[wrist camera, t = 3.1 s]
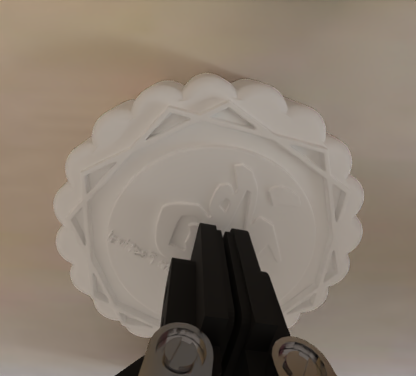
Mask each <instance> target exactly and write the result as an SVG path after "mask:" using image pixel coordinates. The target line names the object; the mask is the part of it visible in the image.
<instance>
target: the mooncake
mask: <svg viewBox="0 0 416 376" xmlns="http://www.w3.org/2000/svg"><path fill="white" fill-rule="evenodd" d="M351 167H352V155H351V152H350V150H349V148H348V147H347V145H346V144H345V143H344V142H342V141H341V140H339V139H337V138H336V137H334V136H332V135H330V134H328V133H326V126H325V123H324V120H323V118H322V117H321V115H320V114H319V113H318V112H317V111H316V110H315V109H313V108H311V107H309V106H306V105H304V104H301V103H299V102H296V101H294V100H291V99H289V98H286V97H283V96H282V94H281V93H280V92H279V91H278V90H277V89H276V88H274V87H273V86H270V85H268V84H265V83H262V82H259V81H256V80H252V79H240V80H237V81H234V82H233V83H230V82H228V81H227V80H225V79H224V78H222V77H220V76H218V75H216V74H213V73H201V74H198V75H196V76H194V77H192V78H191V79H190V80H189V81H188V82H187V83H186V85H183V84H181V83H179V82H176V81H172V80H164V81H160V82H158V83H155V84H154V85H152V86H150V87H148V88H147V89H145V90H144V91H142V92H141V93H140V94H139V95H138V97H137V98H136V100H128V101H125V102H123V103H121V104H119V105H118V106H116V107H114V108H112V109H111V110H109V111H107V112H106V113H104V114H103V115H101V116H100V117H99V118H98V120H97V121H96V123H95V125H94V127H93V130H92V136H91V137H89V138H88V139H87V140H85V141H84V142H83V143H81V144H80V145H78V146H77V147H76V148H74V149H73V150H72V151H71V153H70V154H69V155H68V157H67V160H66V163H65V173H66V177H67V180H68V181H67V182H66V183H65V184H64V185H63V186H62V187H61V188H60V189H59V190H58V191H57V193H56V195H55V197H54V201H53V209H54V213H55V215H56V217H57V219H58V220H59V222H60V223H61V224H62V226H61V227H60V229H59V230H58V232H57V235H56V247H57V250H58V252H59V254H60V255H61V256H62V257H63V258H64V259H65V260H66V261H67V262H69V263H71V264H72V266H71V269H70V278H71V281H72V283H73V285H74V286H75V287H76V288H77V289H78V290H79V291H80V292H82V293H84V294H86V295H89V296H90V297H91V299H93V300H94V305H95V308H96V309H97V311H98V312H99V313H100V314H101V315H102V316H104V317H106V318H108V319H111V320H116V321H120V323H121V325H122V326H125V327H126V328H127V330H128V331H129V332H131V333H132V334H134V335H136V336H139V337H143V338H150V337H152V336H153V334H154V333H155V332H156V331H157V330H158V329H159V328H160V324H161V316H162V308H163V301H164V294H165V288H166V282H167V277H168V272H169V267H170V263H171V259H172V257H173V258H179V259H185V260H191V255H192V251H193V247H194V243H195V239H196V235H197V230H198V227H199V224H200V223H205V224H211V225H216V228H217V230H221V231H222V237H223V236H224V233H225V231H227V232H230V230H231V229H232V228H234V229H240V230H246V231H248V232H249V235H250V238H251V241H252V244H253V247H254V250H255V254H256V257H257V260H258V263H259V266H260V269H261V271H263V272H267V273H268V274H269V276H270V279H271V282H272V285H273V288H274V291H275V293H276V296H277V299H278V302H279V305H280V308H281V311H282V313H283V316H284V319H285V322H286V325H287V328H288V329H289V328H290V327H292V326H293V325H294V324H295V323H296V322H297V321H298V319H299V317H300V313H302V312H310V311H313V310H315V309H317V308H319V307H320V306H321V305H322V304H323V303H324V302H325V300H326V298H327V296H328V287H329V286H332V285H335V284H337V283H338V282H340V281H341V280H342V279H343V278H344V277H345V276H346V275H347V273H348V271H349V267H350V259H349V256H348V253H350V252H351V251H352V250H354V249H355V248H356V247H357V245H358V244H359V243H360V241H361V238H362V234H363V228H362V224H361V222H360V220H359V218H358V217H357V216H356V214H357V213H358V212H359V211H360V209H361V207H362V205H363V202H364V190H363V187H362V185H361V183H360V182H359V181H358V180H357V179H356V178H355V177H353V176H352V175H351V174H349V173H350V171H351Z"/></svg>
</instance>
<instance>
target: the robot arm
mask: <svg viewBox="0 0 416 376" xmlns="http://www.w3.org/2000/svg"><path fill="white" fill-rule="evenodd" d="M115 376H337V375H336V374H335V372H334V370H333V369H332V367H331V365H330V363H329V362H328V360H327V359H326V358H325V356H324V355H323V354H322V353H321V352H320V351H319V350H318V349H317V348H316V347H315V346H313V345H312V344H310V343H309V342H307V341H305V340H303V339H300V338H298V337H291V336H290V333H289V331H288V328H287V325H286V322H285V319H284V316H283V313H282V311H281V308H280V305H279V302H278V299H277V296H276V293H275V291H274V288H273V285H272V282H271V279H270V276H269V274H268V273H267V272H263V271H261V269H260V266H259V263H258V260H257V257H256V254H255V250H254V247H253V244H252V241H251V238H250V235H249V232H248V231H246V230H240V229H234V228H232V229H231V230H230V232H227V231H225V233H224V236H223V237H222V231H221V230H217V228H216V225H211V224H205V223H200V224H199V227H198V230H197V235H196V239H195V243H194V247H193V251H192V255H191V260H185V259H179V258H173V257H172V259H171V263H170V267H169V272H168V277H167V282H166V288H165V294H164V301H163V308H162V316H161V324H160V328H159V329H158V330H157V331H156V332H155V333H154V334H153V336H152V338H151V340H150V342H149V345H148V348H147V351H146V354H145V355H144V356H143V357H141V358H140V359H138V360H137V361H135V362H134V363H133V364H131V365H130V366H128V367H127V368H125V369H124V370H123V371H121V372H120V373H118V374H117V375H115Z"/></svg>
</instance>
